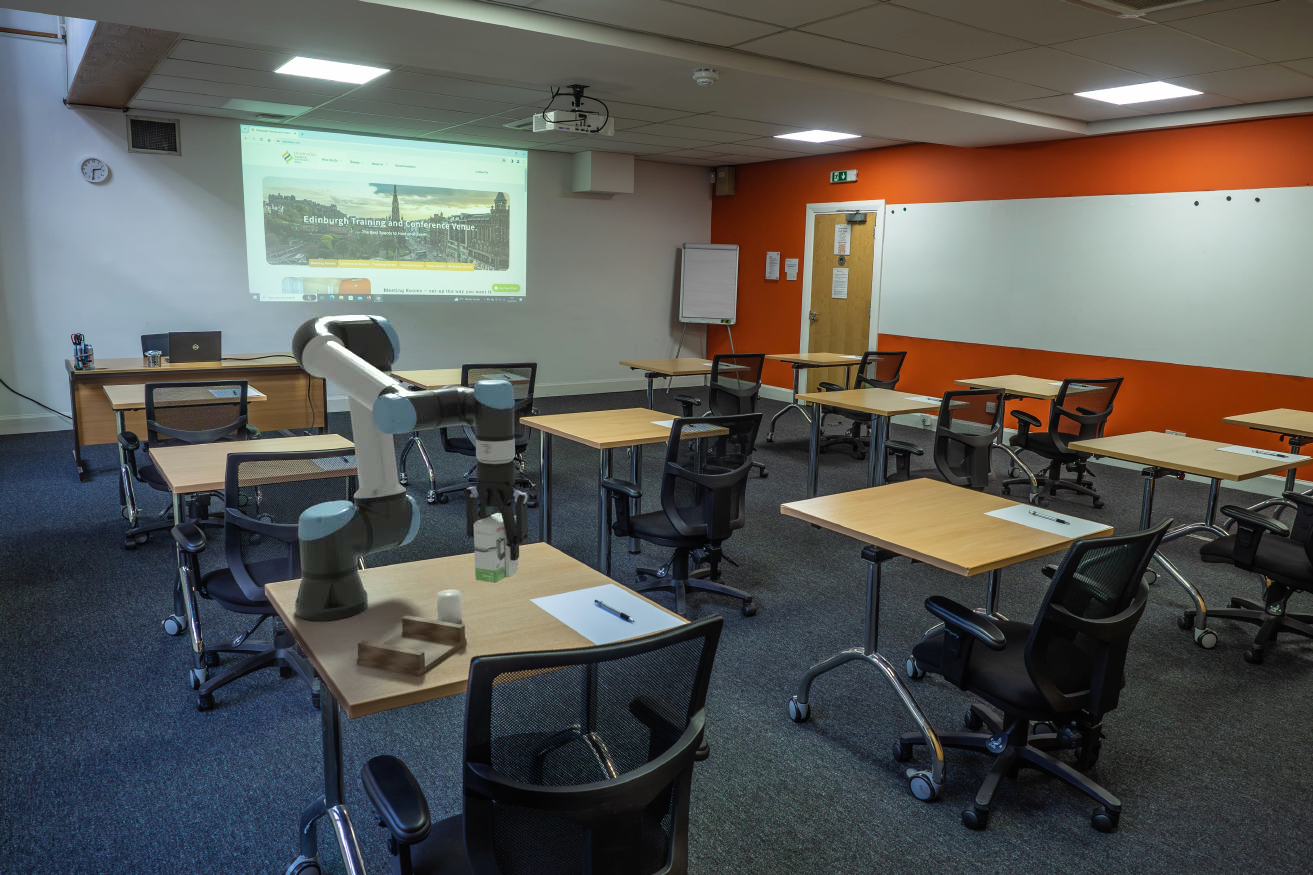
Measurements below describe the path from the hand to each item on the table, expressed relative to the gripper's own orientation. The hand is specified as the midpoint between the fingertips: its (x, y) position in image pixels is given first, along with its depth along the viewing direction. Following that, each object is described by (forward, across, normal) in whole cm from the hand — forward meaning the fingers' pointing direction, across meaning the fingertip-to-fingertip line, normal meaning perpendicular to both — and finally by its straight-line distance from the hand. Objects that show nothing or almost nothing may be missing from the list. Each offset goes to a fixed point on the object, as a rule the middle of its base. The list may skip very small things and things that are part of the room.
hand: (498, 572), depth 168 cm
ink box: (+1, 0, 0) cm, 1 cm away
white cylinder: (+15, -16, +6) cm, 22 cm away
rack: (+15, -13, -11) cm, 22 cm away
